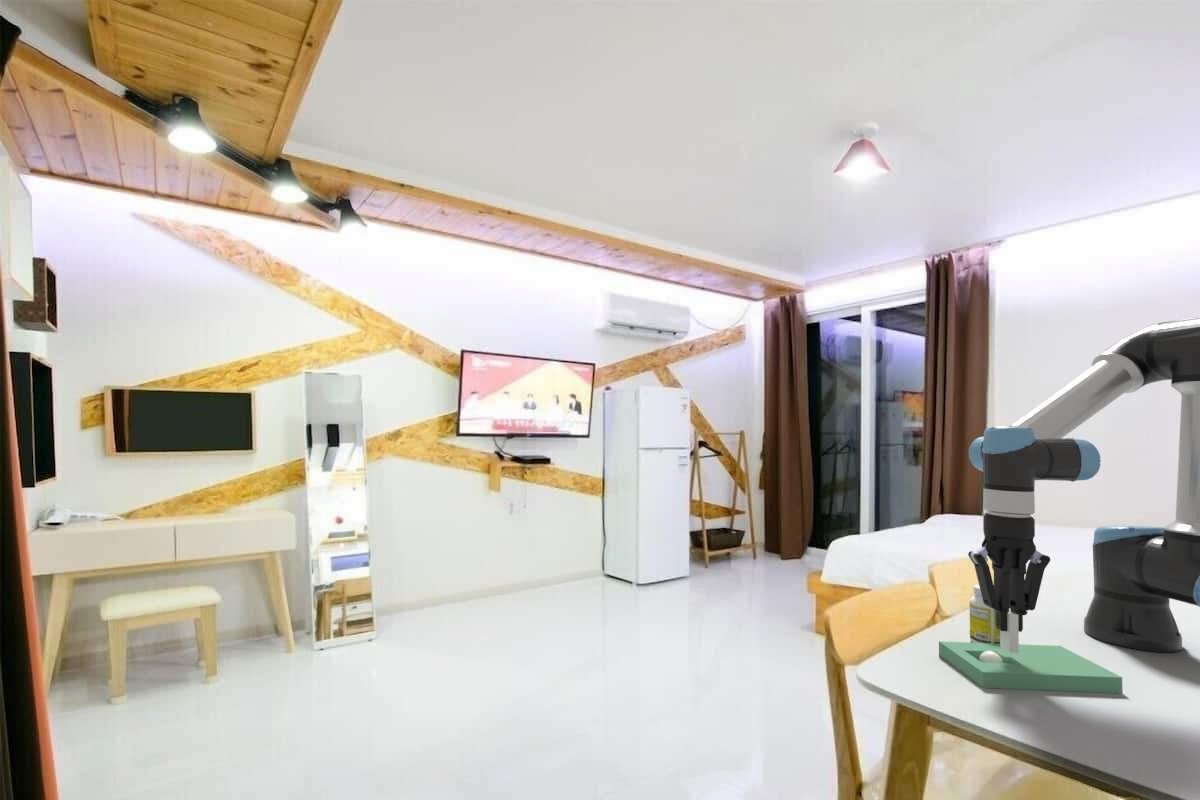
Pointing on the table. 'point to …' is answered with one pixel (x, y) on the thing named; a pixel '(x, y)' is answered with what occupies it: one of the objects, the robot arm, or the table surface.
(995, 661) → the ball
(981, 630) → the pill bottle
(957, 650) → the green
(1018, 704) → the table surface
